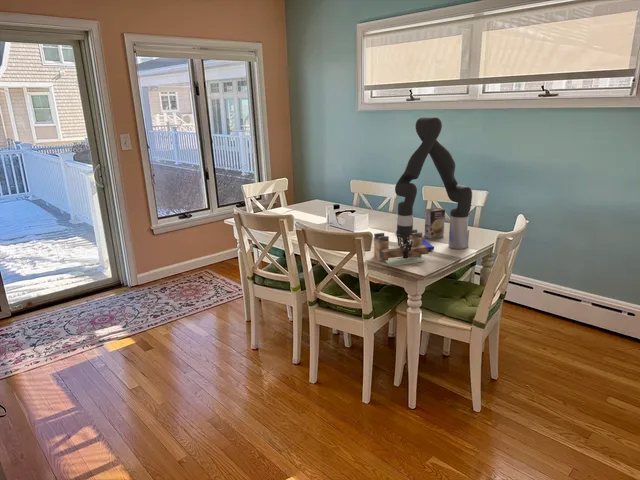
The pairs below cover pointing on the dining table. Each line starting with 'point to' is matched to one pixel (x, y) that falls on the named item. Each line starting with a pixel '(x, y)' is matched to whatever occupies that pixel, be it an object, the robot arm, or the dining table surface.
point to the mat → (403, 261)
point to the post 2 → (416, 239)
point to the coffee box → (434, 222)
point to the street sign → (425, 243)
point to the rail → (400, 252)
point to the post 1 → (380, 245)
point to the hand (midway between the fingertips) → (404, 256)
